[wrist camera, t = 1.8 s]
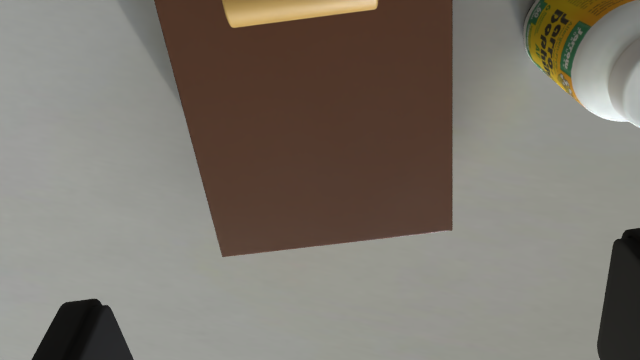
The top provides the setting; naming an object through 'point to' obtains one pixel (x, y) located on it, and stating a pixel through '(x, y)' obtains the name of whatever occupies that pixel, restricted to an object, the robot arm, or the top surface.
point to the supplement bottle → (590, 52)
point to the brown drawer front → (316, 117)
